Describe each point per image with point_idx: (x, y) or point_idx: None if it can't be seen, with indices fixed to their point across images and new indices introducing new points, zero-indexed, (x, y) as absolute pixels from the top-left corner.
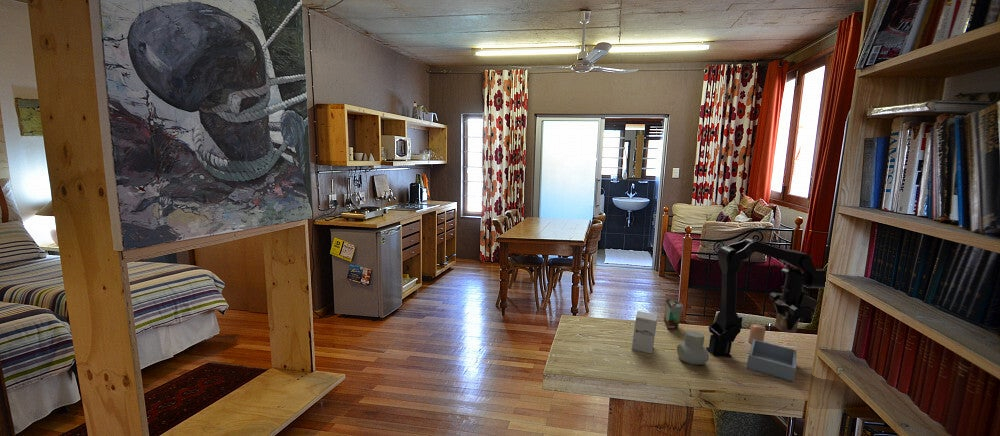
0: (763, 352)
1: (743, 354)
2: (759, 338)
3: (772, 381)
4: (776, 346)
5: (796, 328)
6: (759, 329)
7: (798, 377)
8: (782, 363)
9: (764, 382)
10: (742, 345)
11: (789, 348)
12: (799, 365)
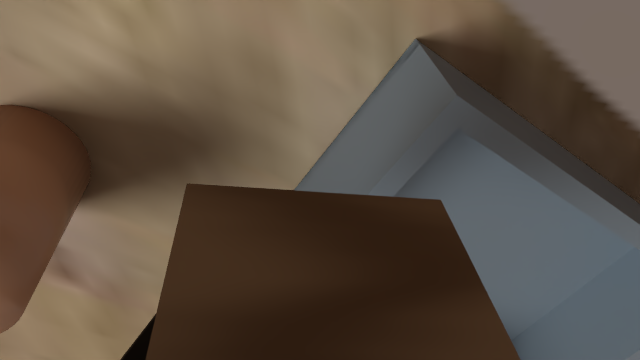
0: None
1: None
2: (67, 213)
3: None
4: None
5: (468, 267)
6: (29, 296)
7: (624, 152)
8: (449, 169)
9: None
10: (129, 273)
11: (415, 148)
12: (457, 10)
